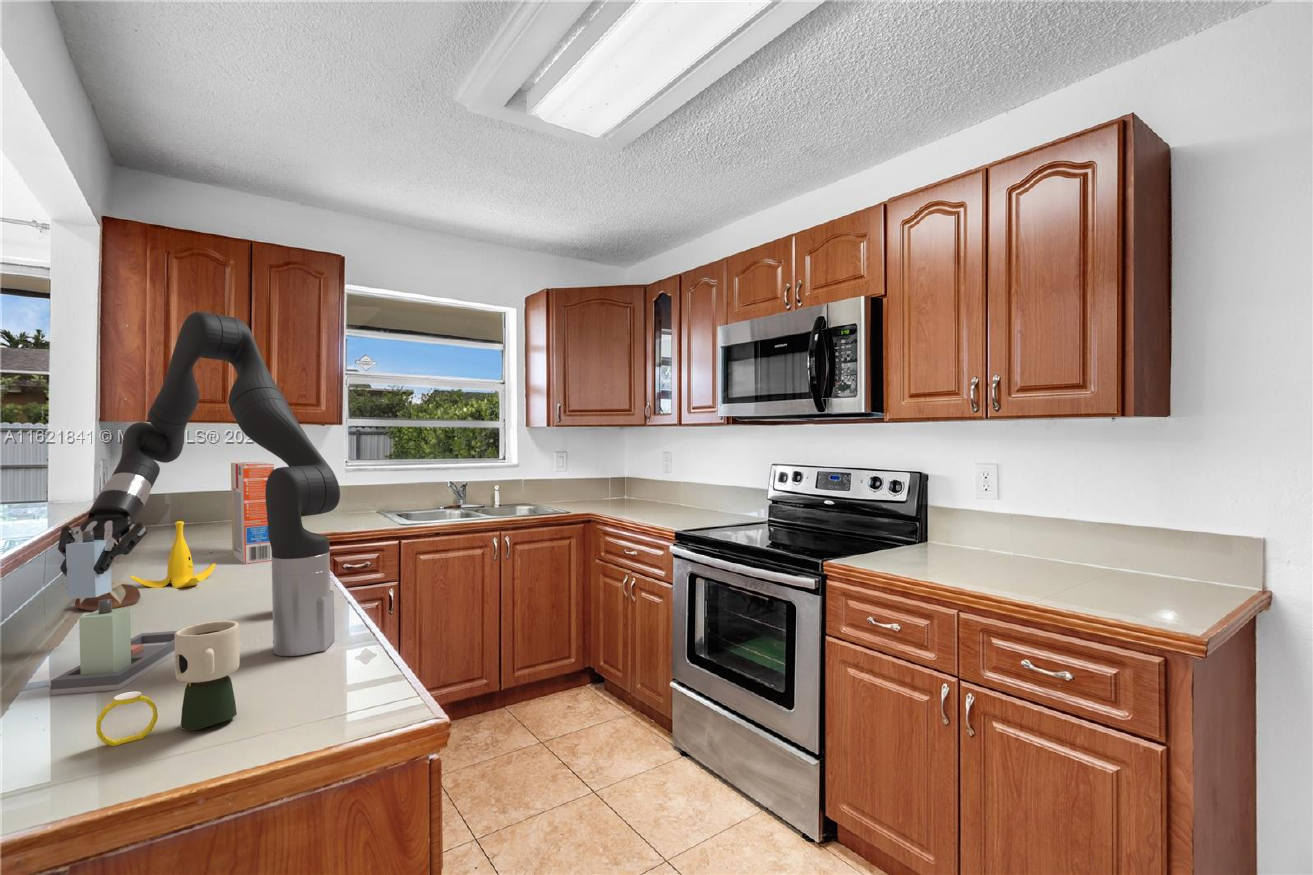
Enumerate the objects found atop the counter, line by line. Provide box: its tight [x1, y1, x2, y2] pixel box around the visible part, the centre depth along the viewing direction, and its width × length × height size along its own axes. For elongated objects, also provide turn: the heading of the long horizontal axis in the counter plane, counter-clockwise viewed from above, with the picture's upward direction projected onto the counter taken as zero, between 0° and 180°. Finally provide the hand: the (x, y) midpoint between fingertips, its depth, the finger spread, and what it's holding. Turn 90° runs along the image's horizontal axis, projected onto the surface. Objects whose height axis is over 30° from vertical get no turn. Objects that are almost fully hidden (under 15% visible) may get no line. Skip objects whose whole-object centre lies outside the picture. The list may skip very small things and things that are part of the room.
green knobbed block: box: [78, 599, 132, 675], centre depth 102 cm, size 4×4×12 cm
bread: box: [74, 581, 141, 612], centre depth 147 cm, size 11×11×5 cm
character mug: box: [174, 620, 240, 731], centre depth 86 cm, size 11×7×13 cm, turn 37°
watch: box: [95, 691, 159, 747], centre depth 81 cm, size 6×3×6 cm, turn 133°
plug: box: [66, 530, 112, 600], centre depth 118 cm, size 4×4×12 cm
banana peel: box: [129, 520, 217, 590], centre depth 166 cm, size 17×19×17 cm
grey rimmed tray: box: [50, 630, 178, 696], centre depth 108 cm, size 9×23×3 cm, turn 11°
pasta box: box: [230, 461, 275, 565], centre depth 203 cm, size 23×8×30 cm, turn 41°
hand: (82, 572), depth 117 cm, fingers closed on plug, 4 cm apart
